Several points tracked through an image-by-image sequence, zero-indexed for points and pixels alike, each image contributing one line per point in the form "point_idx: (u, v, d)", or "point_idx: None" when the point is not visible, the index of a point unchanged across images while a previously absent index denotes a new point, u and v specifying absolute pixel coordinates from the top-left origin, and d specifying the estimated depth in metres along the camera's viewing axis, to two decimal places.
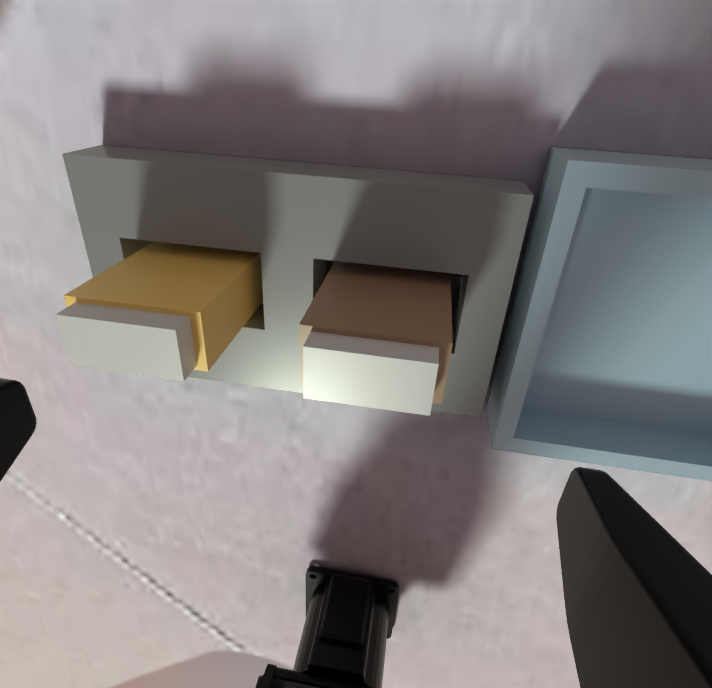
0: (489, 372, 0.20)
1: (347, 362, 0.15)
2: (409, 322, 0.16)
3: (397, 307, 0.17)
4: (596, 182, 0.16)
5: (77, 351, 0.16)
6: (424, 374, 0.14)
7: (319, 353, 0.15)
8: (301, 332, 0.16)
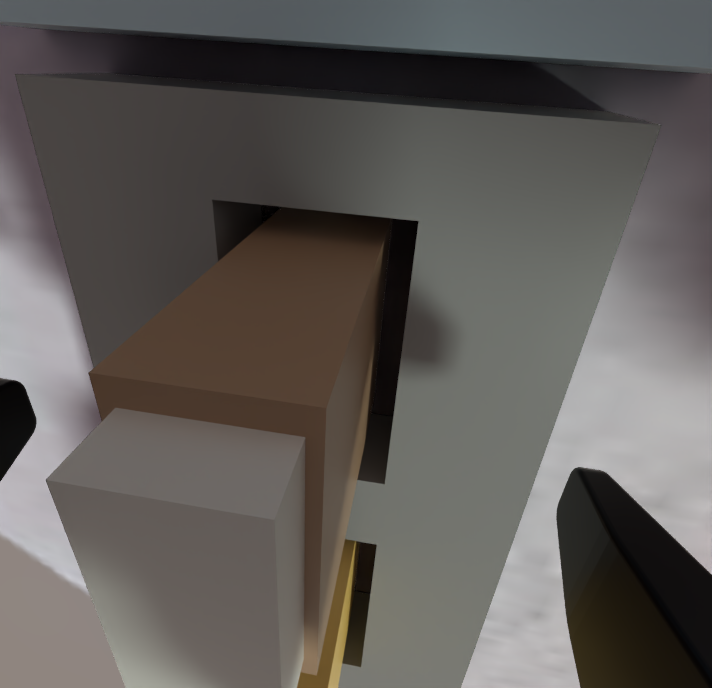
0: (480, 117, 0.07)
1: (142, 659, 0.05)
2: None
3: None
4: None
5: None
6: (105, 519, 0.04)
7: None
8: None
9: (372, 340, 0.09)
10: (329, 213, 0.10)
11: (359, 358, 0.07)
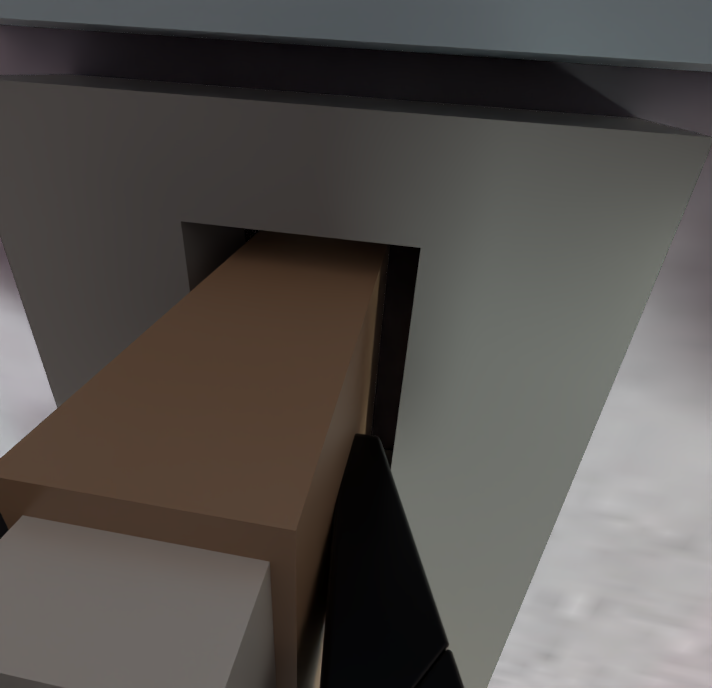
0: (495, 127, 0.06)
1: None
2: None
3: None
4: None
5: None
6: None
7: None
8: None
9: (367, 379, 0.08)
10: None
11: (349, 416, 0.06)
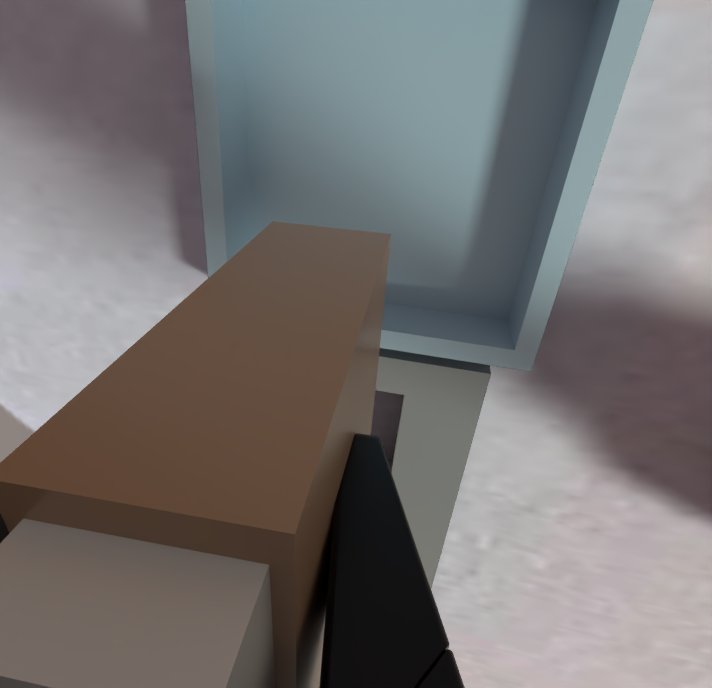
0: (427, 365, 0.19)
1: None
2: None
3: None
4: None
5: None
6: None
7: None
8: None
9: (366, 381, 0.08)
10: (319, 234, 0.09)
11: (348, 418, 0.06)
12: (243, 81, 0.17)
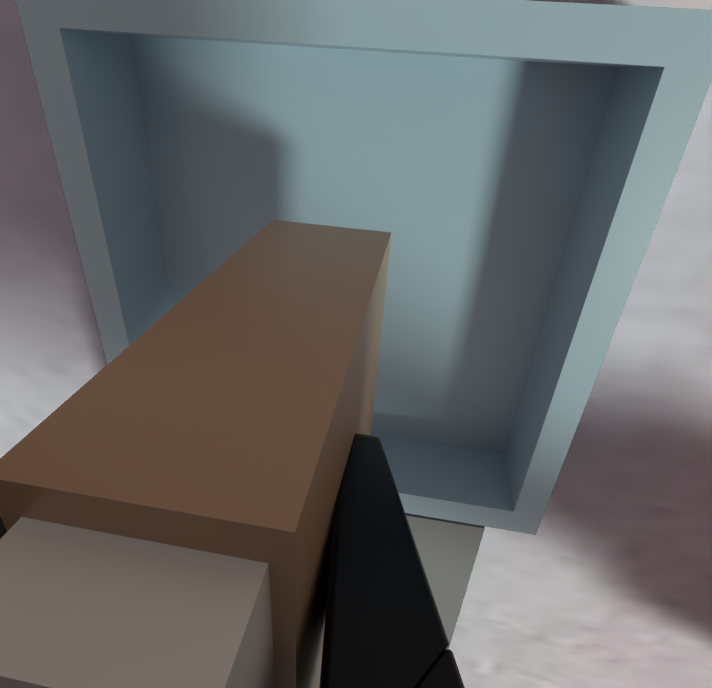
0: None
1: None
2: None
3: None
4: None
5: None
6: None
7: None
8: None
9: (367, 380, 0.08)
10: (319, 233, 0.09)
11: (349, 416, 0.06)
12: (150, 182, 0.13)
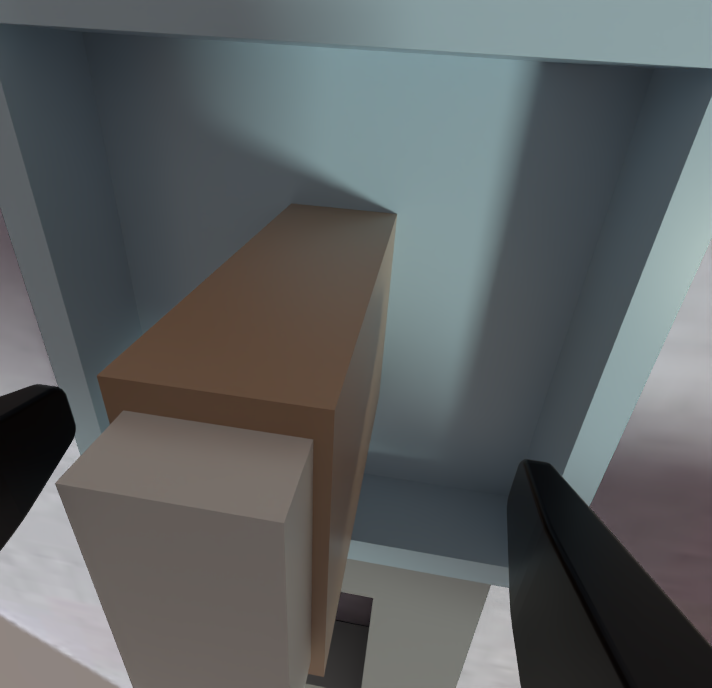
0: (402, 569, 0.14)
1: (150, 661, 0.05)
2: None
3: None
4: None
5: None
6: (113, 522, 0.04)
7: None
8: None
9: (377, 341, 0.09)
10: (333, 214, 0.10)
11: (365, 359, 0.07)
12: (112, 199, 0.11)
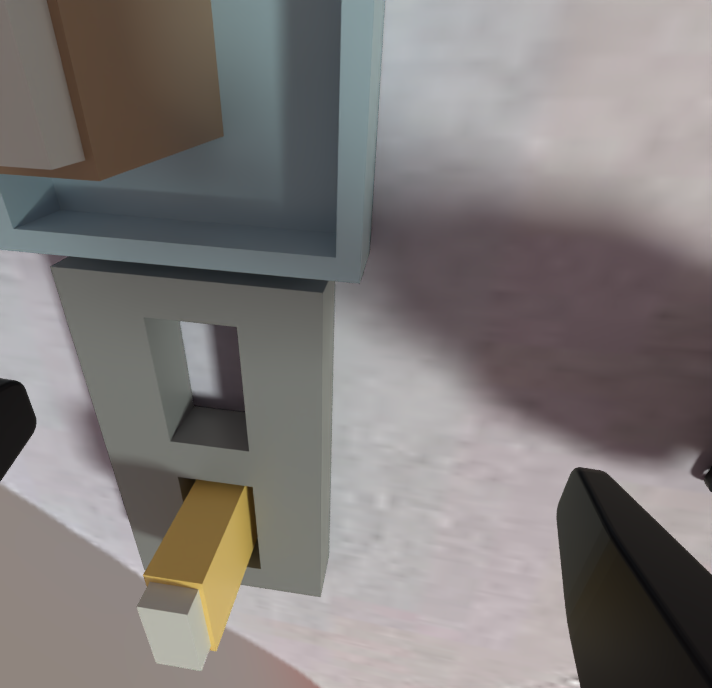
0: (252, 288, 0.16)
1: None
2: None
3: None
4: (5, 220, 0.16)
5: (185, 663, 0.20)
6: None
7: None
8: (3, 169, 0.10)
9: (176, 17, 0.12)
10: None
11: None
12: None
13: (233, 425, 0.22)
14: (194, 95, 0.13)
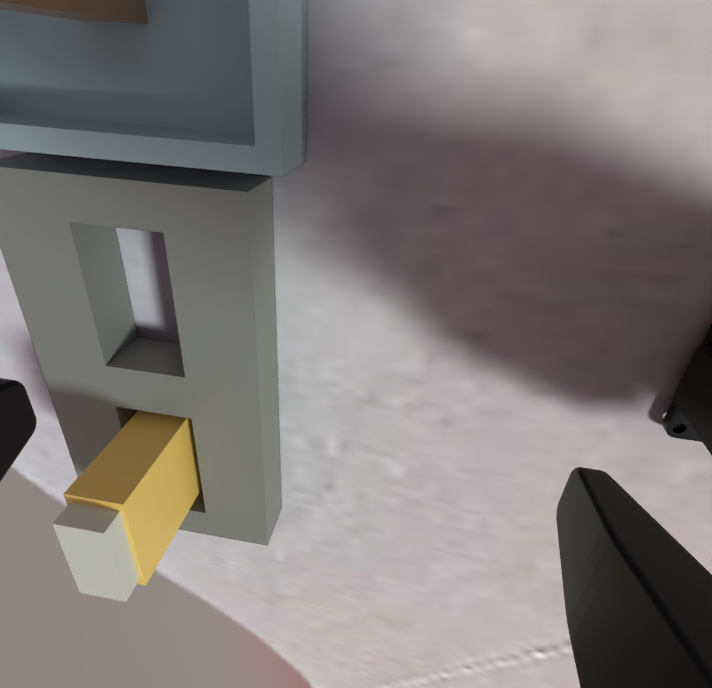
0: (176, 187, 0.16)
1: None
2: None
3: None
4: None
5: (108, 592, 0.19)
6: None
7: None
8: None
9: None
10: None
11: None
12: None
13: (174, 355, 0.21)
14: None
